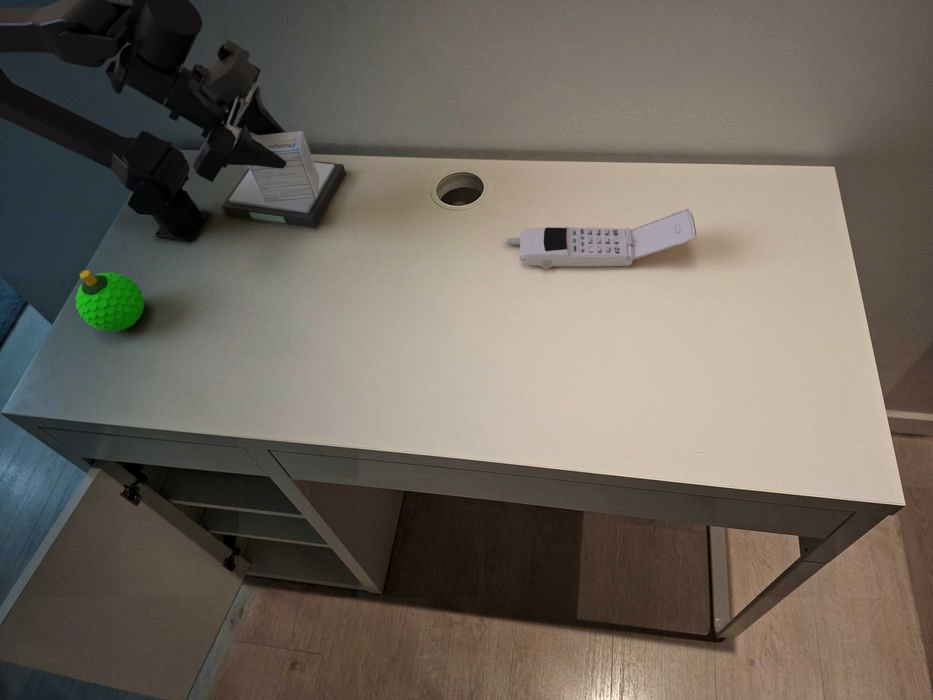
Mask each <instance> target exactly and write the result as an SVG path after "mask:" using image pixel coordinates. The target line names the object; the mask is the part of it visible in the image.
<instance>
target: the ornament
mask: <svg viewBox="0 0 933 700" xmlns="http://www.w3.org/2000/svg"><path fill="white" fill-rule="evenodd" d="M79 278H80V279H81V280H83V283H81V285H80V286H79V287H78V289H77V293H76V295H75V301H76V302H75V308H76V310H77V311H78V313H79V316H80V318H81V319H83V321H85V323H87V325H88V326H91V327H93V328H95V329H97V330H100V331H103V332H112V333H113V332H119V331H124V330H127V329H128V328H131V327H132V326H133V325H134V324H136V323H137V322H138V320H140V318H141V316H142V314H143V313H144V307H145V298H144V296H143V295H142V293H143V291H142V290H141V288H140V287H139V286H138V284H137V283H136V282H134V280H132V279H131V278H130V277H128V276H125V275H124V274H121V273H120V274H119V273H115V272H104V273H103V272H99V273H96V274H94V275H93V273H92V272H91V271H90V270H89V269H87V270H82V271H81V272H80V273H79Z"/></svg>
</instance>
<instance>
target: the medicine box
mask: <svg viewBox="0 0 933 700" xmlns="http://www.w3.org/2000/svg"><path fill="white" fill-rule="evenodd" d="M251 137H252V138H253V139H254V140H256V141H257V142H259V143H260V144H262V145H263V146H265V147H266V148H268V149H269V150H271V151H272V152H274V153H275V154H277V155H278V156H279V157H281V158H282V159H283V160H284V161H286V166H285V167H284V168H283V169H281V168H271V167H262V166H252V165H247V167H248V168H249V169H250V171H251V173H252V175H253V178H254V180H255V182H256V184H257V186H258V188H259V190H260V193H261V195H262V197H263V199H264V201H265V203H270V202H280V201H289V200H299V199H308V198H318V190H319V180H320V178H319V175H318V172H317V169H316V167H315V164H314V161H315V160H314V158H313V155H312V153H311V150H310V147H309V144H308V142H307V138H306V136H305V133H304V132H303V131H301V130H298V131H289V132H288V131H287V132H286V133H276V134H266V135H251Z"/></svg>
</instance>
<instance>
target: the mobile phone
mask: <svg viewBox="0 0 933 700" xmlns="http://www.w3.org/2000/svg"><path fill="white" fill-rule="evenodd" d="M695 239H697V229H696V224H695V220H694V216H693V214H692V211H691V210H690V209H689V208H686V209H685V208H684V209H681V210H677V211H675V212H672V213H671V214H669V215H665V216H663V217H661V218H658V219H656V220H653V221H650V222H648V223H645V224H642V225H640V226H636V227H635V228H632V229H631V228H630V227H626V228H625V227H624V228H622V227H621V228H620V227H617V228H616V227H583V226H582V227H579V226H577V227H570V226H540V227H539V226H538V227H527V228H525V227H524V228H523V229H522V230H521V231H520V236H519V237H511V238H510V237H509V238H506V244H507V245H512V246H513V245H516V246H519V260H520V262H521V264H523V265H527V266H539V267H541V268H542V269H550V268H551V267H629V266H631V265H632V264H633V261H634V260H637V259H640V258H643V257H646V256H649V255H652V254H655V253H658V252H661V251H664V250H668V249H671V248H674V247H677V246H679V245H683V244H685V243H687V242H690V241H692V240H695Z"/></svg>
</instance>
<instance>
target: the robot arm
mask: <svg viewBox="0 0 933 700" xmlns="http://www.w3.org/2000/svg"><path fill="white" fill-rule="evenodd" d="M131 2H132V3H128V2H122V1H117V0H58V1H56V2H54V3H52V4H49V5H46V6H42V7H41V6H40V7H0V53H31V54H32V53H34V54H35V53H36V54H37V53H38V54H49V55H53V56H55V57H57V58H58V59H59V60H60V61H62V62H63V63H66V64H70V65H75V66H76V65H77V66H81V67H87V68H93V69H94V68H96V69H97V68H100V67H101V66H103V65H104V64H105V63H106V62H107V60H108V59H113V58H115V57H116V56H117V55H118V53H119V52H120V53H119V55H118V58H117V60H110V61H109V63H108V65H107V67H106V69H105V71H104V73H105V75H106V76H107V78H108V80H109V81H110V85H111V87H112V89H113V92H114V93H116V94H122V91H123V89H124V88H125V86H128V87H129V88H131V89H133V90H135V91H137V92H138V93H140V94H142V95H143V96H145V97H147V98H148V99H150V100H152V101H153V102H155V103H157V104H159V105H161V106H162V107H164V108H166V109H168V110H169V111H170V113H169V114H168V118H169V119H171V120H172V121H174V122H178V119H179V118H180V117H181V118H183V119H185V120H186V121H187V122H190V123H191V124H194V125H195V126H196V127H199V128H201V129H202V131H201V134H200V137H203V138H204V141H203V143H202V144H201V146H200V148H199V150H198V152H197V155H196V157H195V159H194V162H193V165H192V167H193V169H194V171H195V173H196V175H198V176H200V178H203V179H205V180H207V181H209V182H211V183H214V181H215V180H216V177H217V176H218V175H219V173H220V171H222V168H224V169H226V168H227V167H228V166H248V165H252V166H262V167H271V168H281V169H283V168H284V167H285V166H286V161H284V160H283V159H282V158H281V157H279V156H278V155H277V154H275V153H274V152H272V151H271V150H269V149H268V148H266V147H265V146H263V145H262V144H260V143H259V142H257V141H256V140H254V139H253V138H252V137H251V136H252V135H251V134H253V135H255V136H257V135H266V134H276V133H287V132H286V131H285V129H284V128H283V127H282V126H281V125H280V124H279V123H278V122H277V120H276V119H275V118H274V117H273V116H272V115H271V113H270V112H269V111H268V109H267V108H266V107H265V106H264V105H265V104H264V103H263V98H262V95H261V87H260V86H259V85H258V86H256V88H255V90H254V91H251V90H252V89H253V86H254V84H256V83H257V81H258V80H259V77H260V73H261V69H260V68H259V67H257V66H256V65H254V63H251V62H250V61H249V59H250V55H251V54H250V52H249V51H248V50H247V49H244V48H242V47H241V46H240V45H238V44H236V43H235V42H233V41H231V40H229V39H226V40H225V41H224V42H222V43H221V44H220V45H219V47H218V49H217V51H216V55H217V57H218V59H217V60H216V61H215V64H214V65H213V66H212V67H210V68H207V67H205V66H203V65H202V64H197V63H194V65H193V67H192V68H191V67H188V66H187V65H185V62H186V60H187V58H188V57H189V54H190V53H191V50H192V49H193V47H194V45H195V43H196V41H197V38H198V37H199V34H200V33H201V30H202V28H203V19H202V16H201V14H200V12H199V10H198V9H197V8H196V6H195V5H194V4H193V3H192V2H191V1H190V0H132V1H131ZM126 44H128V45H126ZM125 45H126V46H125ZM0 119H3V120H5V121H7V122H10V123H12V124H14V125H16V126H17V127H21V128H22V129H24V130H27V131H29V132H30V133H33V134H35V135H38V136H39V137H42V138H44V139H46V140H47V141H50V142H52V143H54V144H55V145H58V146H60V147H63V148H65V149H67V150H69V151H72V152H74V153H76V154H78V155H80V156H81V157H84V158H86V159H89V160H90V161H93V162H95V163H97V164H99V165H101V166H103V167H106V168H108V169H109V170H111V171H112V172H113V173H114V174H115V176H116V177H117V178H118V180H119V181H120V182H121V184H122V185H123V187H125V189H127V190H129V191H131V192H132V193H131V196H130V198H129V200H128V202H127V206H128V207H129V208H130V209H132V211H133V212H135V213H136V214H137V215H142V216H152V218H153V219H154V220H155V222H156V224H157V225H158V227H159V228H158V229H157V231H156V232H155V237H156V238H159V239H160V238H161V239H168V240H173V241H179V242H186V243H189V242H192V241H193V239H194V238H195V236H196V235H197V233H198V232H199V231H200V230H201V228H202V227H203V226H204V224H205V223H206V222H207V220H208V218H209V217H210V213H209V212H208V211H205V210H200V209H199V207H198V206H197V204H196V202H195V201H194V200H192V197H191V196H190V195H189V192H187V190H184V188H183V187H184V186H185V184H186V183H187V182H188V180H189V179H190V176H189V174H190V168H191V167H190V164H189V162H188V160H187V159H186V157H185V155H184V153H183V152H182V151H180V150H179V149H178V148H177V147H175V146H173V145H172V142H171V141H167V140H164V139H161V138H159V137H157V136H155V135H154V134H152V133H151V132H149V131H145V130H140V132H139V133H138V134H137V136H135V137H129V136H124V135H122V134H119V133H117V132H115V131H113V130H111V129H109V128H107V127H105V126H103V125H101V124H99V123H96V122H95V121H93V120H91V119H88V118H87V117H84V116H83V115H80V114H78V113H77V112H74V111H72V110H70V109H69V108H66V107H64V106H62V105H60V104H58V103H55V102H54V101H51V100H49V99H47V98H45V97H44V96H41V95H39V94H37V93H35V92H33V91H31V90H29V89H27V88H25V87H23V86H21V85H19V84H17V83H15V82H14V81H13V80H12V79H11V78H10V76H9V75H8V74H7V73H6V72H5V70H4V69H3V67H1V65H0ZM236 119H237V122H236ZM235 122H236V125H235V126H234V124H235ZM238 128H239V129H238Z"/></svg>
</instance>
